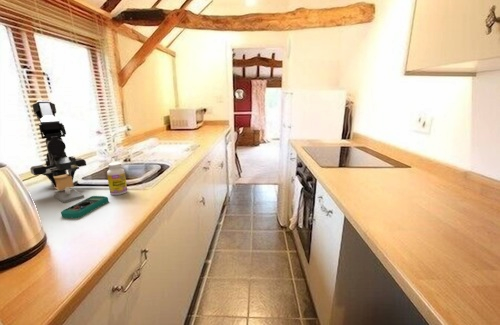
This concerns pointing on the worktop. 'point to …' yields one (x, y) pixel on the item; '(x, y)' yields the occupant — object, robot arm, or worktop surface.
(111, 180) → the supplement bottle
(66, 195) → the post board
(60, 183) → the tan wooden block
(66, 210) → the digital multimeter
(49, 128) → the robot arm
